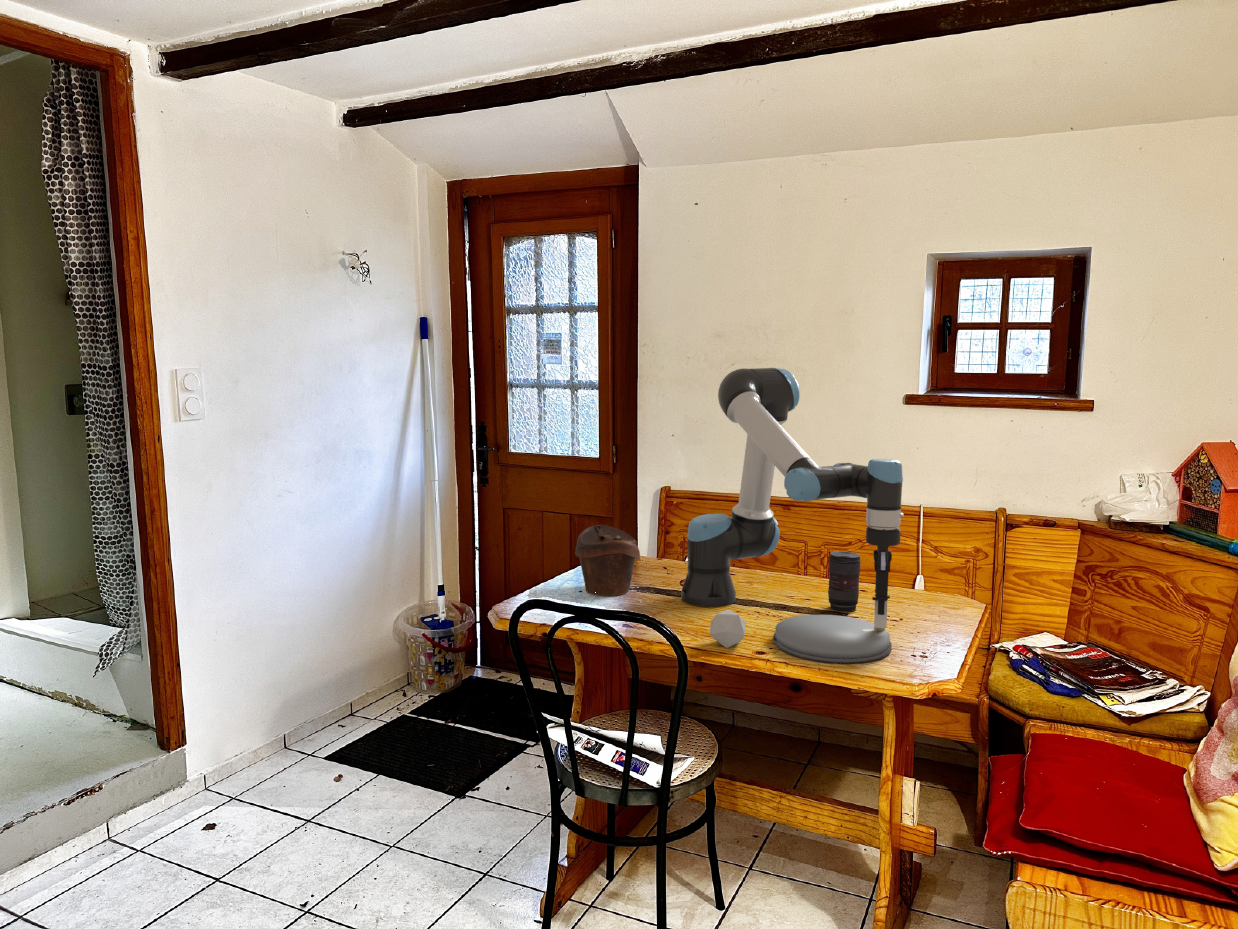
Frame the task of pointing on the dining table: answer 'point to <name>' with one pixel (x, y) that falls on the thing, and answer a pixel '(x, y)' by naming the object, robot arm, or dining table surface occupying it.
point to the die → (727, 628)
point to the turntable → (832, 636)
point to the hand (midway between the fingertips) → (880, 626)
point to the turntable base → (832, 660)
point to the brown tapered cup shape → (606, 560)
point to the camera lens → (843, 581)
